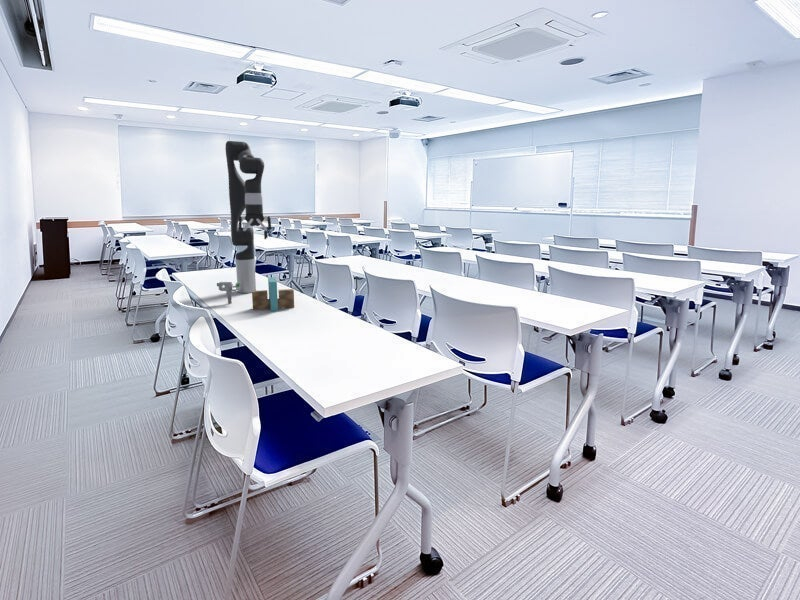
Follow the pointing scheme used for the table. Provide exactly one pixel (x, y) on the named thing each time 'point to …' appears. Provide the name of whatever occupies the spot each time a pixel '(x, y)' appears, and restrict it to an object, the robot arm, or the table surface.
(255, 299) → the walnut slotted plate
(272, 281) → the teal notched block
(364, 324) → the table surface
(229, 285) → the mechanical component
